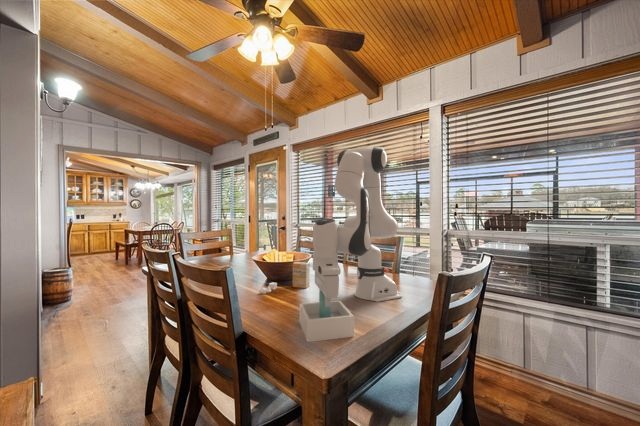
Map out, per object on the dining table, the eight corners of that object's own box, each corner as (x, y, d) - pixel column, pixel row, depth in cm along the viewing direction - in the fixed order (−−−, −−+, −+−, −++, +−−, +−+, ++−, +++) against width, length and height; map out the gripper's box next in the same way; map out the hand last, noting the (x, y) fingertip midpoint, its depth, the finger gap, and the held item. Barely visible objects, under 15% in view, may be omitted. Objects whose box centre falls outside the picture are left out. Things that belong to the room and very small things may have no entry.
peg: (328, 314, 105) (328, 290, 105) (331, 319, 101) (331, 293, 101) (318, 315, 104) (318, 291, 104) (320, 320, 100) (320, 294, 100)
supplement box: (292, 287, 154) (292, 263, 153) (296, 284, 158) (295, 261, 158) (306, 288, 151) (306, 264, 150) (310, 286, 155) (309, 262, 155)
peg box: (340, 318, 113) (340, 300, 112) (354, 336, 97) (354, 316, 97) (299, 322, 109) (299, 303, 109) (307, 341, 93) (307, 320, 93)
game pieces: (271, 288, 154) (271, 282, 154) (277, 288, 152) (277, 282, 152) (259, 294, 142) (259, 288, 142) (264, 295, 141) (264, 288, 141)
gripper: (310, 259, 112) (310, 294, 112) (323, 271, 92) (323, 314, 92) (326, 258, 113) (326, 293, 113) (342, 270, 93) (342, 312, 93)
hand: (325, 303), depth 103 cm, fingers closed on peg, 4 cm apart
